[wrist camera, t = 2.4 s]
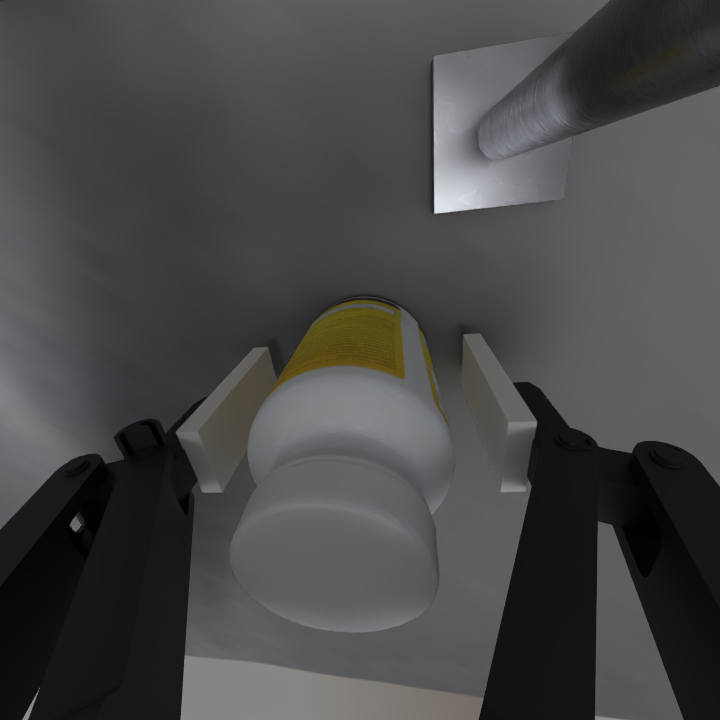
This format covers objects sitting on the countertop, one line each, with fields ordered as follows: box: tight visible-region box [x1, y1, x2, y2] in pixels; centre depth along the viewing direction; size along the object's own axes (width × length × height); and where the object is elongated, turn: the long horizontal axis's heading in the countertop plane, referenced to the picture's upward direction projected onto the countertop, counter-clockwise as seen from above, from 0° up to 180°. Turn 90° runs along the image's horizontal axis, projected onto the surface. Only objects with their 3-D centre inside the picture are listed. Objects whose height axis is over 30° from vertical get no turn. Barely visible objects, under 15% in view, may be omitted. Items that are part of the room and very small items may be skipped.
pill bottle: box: [229, 296, 454, 632], centre depth 12 cm, size 6×6×12 cm
